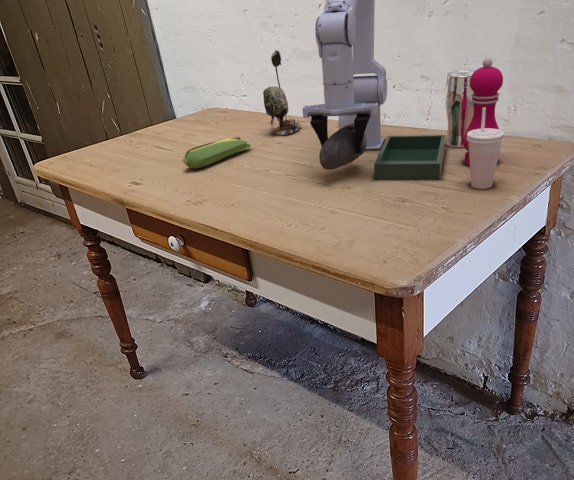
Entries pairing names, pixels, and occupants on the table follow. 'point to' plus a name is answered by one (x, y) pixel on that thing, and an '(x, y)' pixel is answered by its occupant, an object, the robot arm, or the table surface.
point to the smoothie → (483, 154)
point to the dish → (410, 157)
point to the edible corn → (213, 152)
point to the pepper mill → (483, 98)
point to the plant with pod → (278, 104)
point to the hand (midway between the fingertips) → (342, 152)
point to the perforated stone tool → (340, 148)
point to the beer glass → (458, 106)
